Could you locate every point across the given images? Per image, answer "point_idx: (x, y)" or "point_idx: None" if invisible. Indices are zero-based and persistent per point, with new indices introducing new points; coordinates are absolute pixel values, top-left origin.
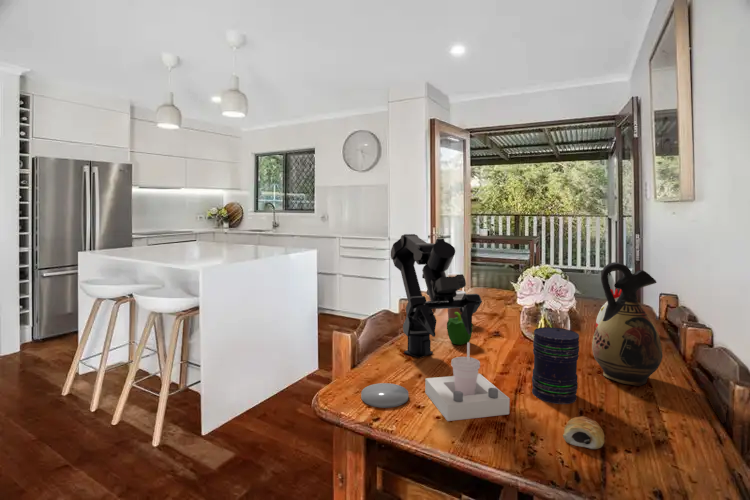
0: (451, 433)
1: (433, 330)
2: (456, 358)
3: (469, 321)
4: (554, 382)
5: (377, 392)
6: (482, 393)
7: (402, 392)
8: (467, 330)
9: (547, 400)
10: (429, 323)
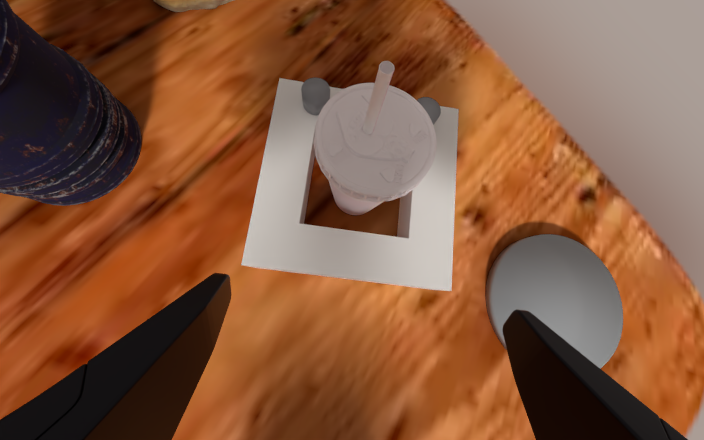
0: (453, 89)
1: (547, 334)
2: (396, 183)
3: (147, 345)
4: (78, 62)
5: (578, 311)
6: (310, 165)
7: (510, 287)
8: (217, 323)
9: (133, 117)
10: (628, 397)
